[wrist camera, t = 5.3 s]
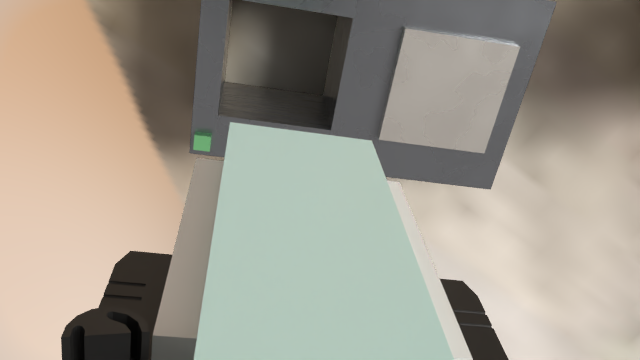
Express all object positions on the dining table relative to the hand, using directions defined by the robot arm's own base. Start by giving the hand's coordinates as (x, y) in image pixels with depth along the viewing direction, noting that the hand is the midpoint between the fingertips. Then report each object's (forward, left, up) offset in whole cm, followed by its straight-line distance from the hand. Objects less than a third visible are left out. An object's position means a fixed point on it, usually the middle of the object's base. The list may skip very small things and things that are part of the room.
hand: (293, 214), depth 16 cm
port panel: (0, +4, -18) cm, 18 cm away
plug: (0, 0, -1) cm, 1 cm away
